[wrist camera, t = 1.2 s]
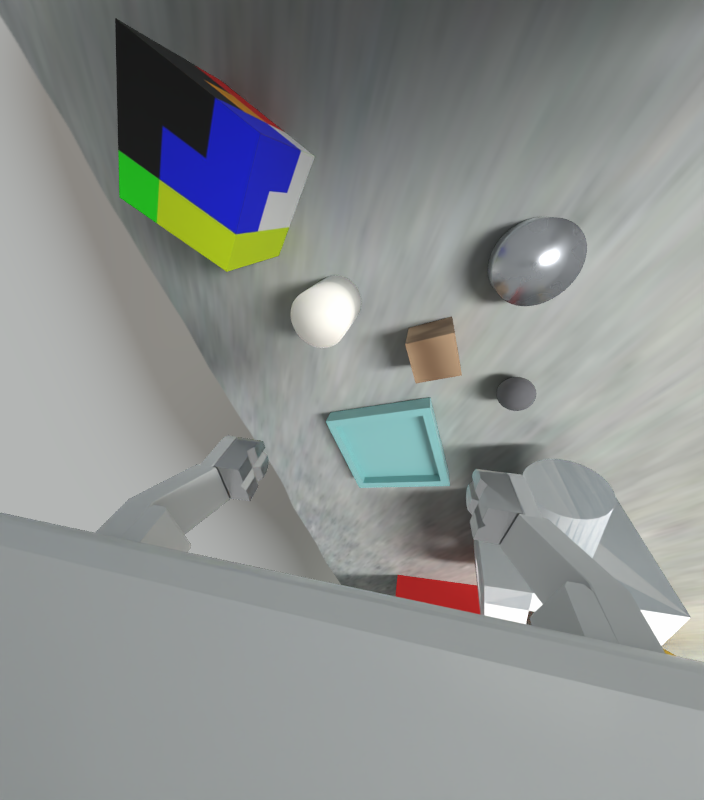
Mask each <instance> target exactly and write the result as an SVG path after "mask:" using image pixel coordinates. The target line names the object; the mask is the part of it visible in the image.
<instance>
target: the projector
mask: <svg viewBox="0 0 704 800" xmlns="http://www.w3.org/2000/svg"><path fill="white" fill-rule="evenodd" d="M523 476H524V477H525V479H526V481H527V484H528V486H529V488H530V490H531V493H532V495H533V497H534V499H535V502H536V504H537V506H538V508H539V511H540V513H541V515H542V517H543V518H548V519H549V520H550V521H551V522H552V523H553V524H554V525H556V526H557V527H558V528H559V529H560V530H561V531H562V532H563V533H565V534H566V535H567V536H568V537H569V538H570V539H571V540H572V541H573V542H575V543H576V544H577V545H578V546H579V547H580V548H581V549H582V550H584V551H585V552H586V553H587V554H588V555H589V556H590V557H591V558H592V559H594V560H595V561H596V562H597V563H598V564H599V565H600V566H601V567H603V568H604V569H605V570H606V571H607V572H608V573H609V574H610V575H611V576H613V577H614V578H615V579H616V580H617V581H618V582H619V583H620V584H622V585H623V586H624V587H625V588H626V589H627V590H628V591H629V592H630V593H631V595H632V597H633V598H634V600H635V602H636V604H637V605H638V607H639V609H640V610H641V612H642V614H643V616H644V617H645V619H646V621H647V622H648V624H649V626H650V628H651V629H652V631H653V633H654V634H655V636H656V638H657V640H658V641H659V643H660V645H661V646H662V645H663V644H664V643H665V642H666V641H667V640H668V639H669V638H670V637H671V636H672V635H673V634H674V633H675V632H676V631H677V630H679V629H680V628H681V627H682V626H683V625H684V624H685V623H686V622H687V621H688V620H689V619H690V618H691V617H690V615H689V614H688V612H687V610H686V609H685V607H684V606H683V604H682V602H681V601H680V599H679V598H678V596H677V594H676V593H675V591H674V590H673V588H672V586H671V585H670V583H669V582H668V580H667V578H666V577H665V575H664V574H663V572H662V570H661V569H660V567H659V566H658V564H657V562H656V561H655V559H654V558H653V556H652V554H651V553H650V551H649V550H648V548H647V546H646V545H645V543H644V542H643V540H642V538H641V537H640V535H639V534H638V532H637V530H636V529H635V527H634V526H633V524H632V522H631V521H630V519H629V518H628V516H627V514H626V513H625V511H624V510H623V508H622V506H621V505H620V503H619V502H618V500H617V498H616V497H615V494H614V491H613V490H612V488H611V486H610V485H609V483H608V482H607V481H606V480H605V479H604V478H603V477H602V476H600V475H599V474H597V473H596V472H594V471H593V470H592V469H589V468H587V467H585V466H583V465H581V464H578V463H575V462H571V461H567V460H561V459H545V460H539V461H536V462H534V463H531V464H530V465H529V466H528V467H527V468H526V469H525V470H524V472H523ZM474 555H475V567H476V578H477V588H478V597H479V606H480V614H481V615H485V616H490V617H494V618H499V619H504V620H508V621H513V622H518V623H523V624H526V622H527V617H528V612H529V611H533V612H535V611H536V610H537V609H538V608H540V607H541V606H542V605H543V604H542V603H541V601H540V600H539V599H538V597H537V596H536V595H535V593H534V592H533V591H532V589H531V588H530V587H529V585H528V584H527V583H526V581H525V580H524V579H523V577H522V576H521V574H520V573H519V572H518V570H517V569H516V568H515V566H514V565H513V564H512V562H511V561H510V560H509V558H508V557H507V556H506V554H505V553H504V552H503V550H502V549H501V548H500V545H498V544H493V543H488V542H483V541H478V540H474Z"/></svg>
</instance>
